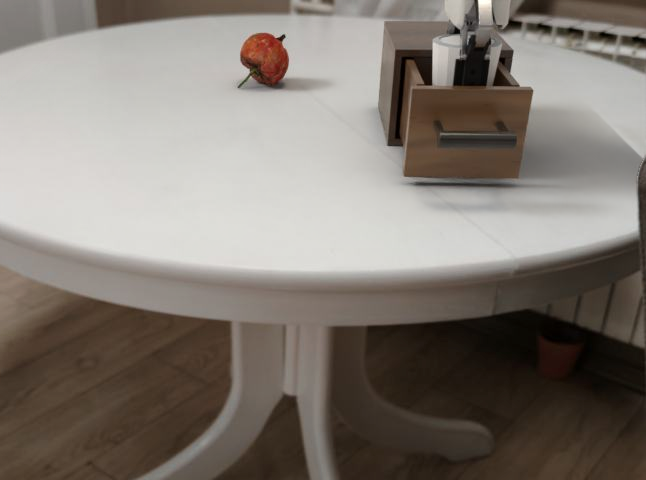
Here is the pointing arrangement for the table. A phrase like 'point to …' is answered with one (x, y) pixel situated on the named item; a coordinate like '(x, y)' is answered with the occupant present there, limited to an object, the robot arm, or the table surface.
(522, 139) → the drawer
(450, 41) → the white cup
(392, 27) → the cabinet
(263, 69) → the pomegranate
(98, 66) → the table surface
